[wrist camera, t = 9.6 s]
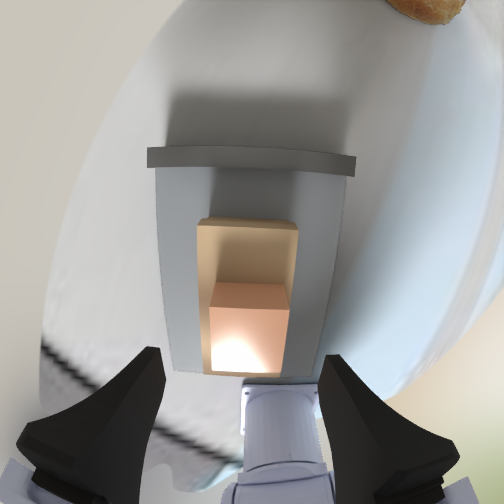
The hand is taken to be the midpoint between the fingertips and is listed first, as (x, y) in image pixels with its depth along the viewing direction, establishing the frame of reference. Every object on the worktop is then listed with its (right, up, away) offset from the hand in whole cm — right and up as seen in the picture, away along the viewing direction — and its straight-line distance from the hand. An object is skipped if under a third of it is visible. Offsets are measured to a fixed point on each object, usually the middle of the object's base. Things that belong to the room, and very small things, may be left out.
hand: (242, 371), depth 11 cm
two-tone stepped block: (0, +3, +8) cm, 8 cm away
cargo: (0, +2, +4) cm, 4 cm away
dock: (0, +4, +10) cm, 10 cm away
